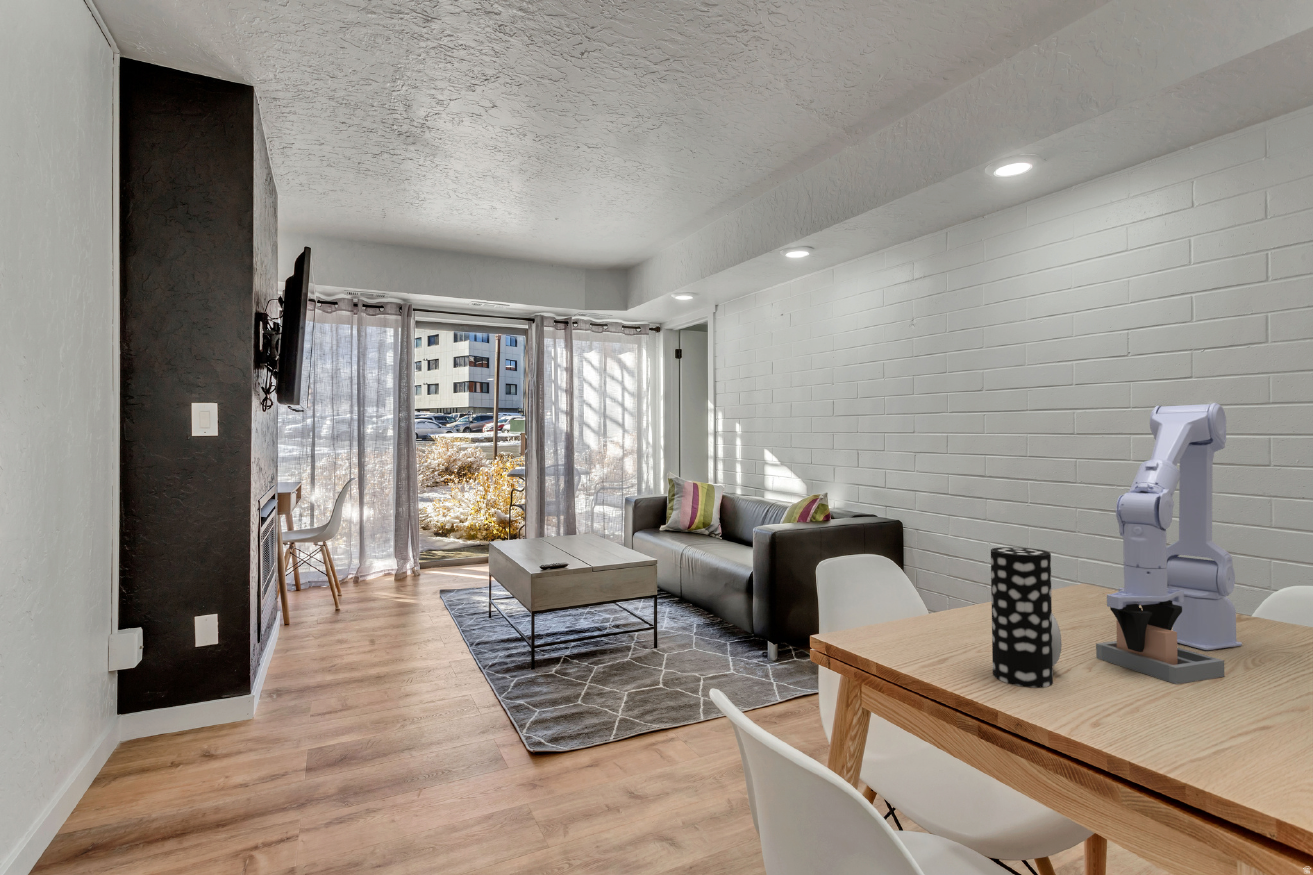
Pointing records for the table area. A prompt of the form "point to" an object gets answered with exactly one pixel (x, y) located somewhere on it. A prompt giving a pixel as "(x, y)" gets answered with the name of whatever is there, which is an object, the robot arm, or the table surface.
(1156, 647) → the brick block
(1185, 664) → the dish rack
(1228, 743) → the table surface
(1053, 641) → the donut
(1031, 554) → the spotted tube
